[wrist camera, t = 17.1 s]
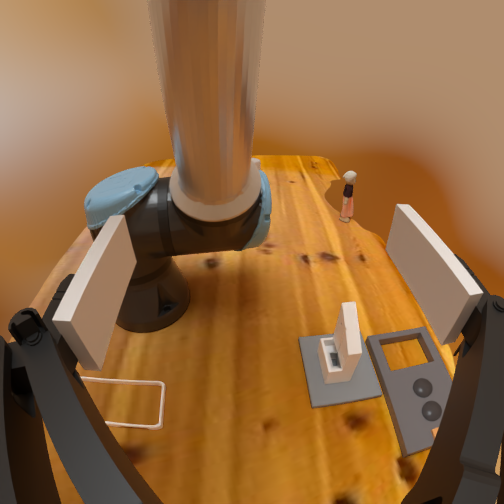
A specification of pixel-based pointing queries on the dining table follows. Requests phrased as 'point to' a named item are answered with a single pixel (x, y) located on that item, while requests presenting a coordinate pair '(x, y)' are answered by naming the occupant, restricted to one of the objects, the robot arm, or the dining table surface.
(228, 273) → the dining table surface
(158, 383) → the phone case
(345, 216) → the grandmother figurine
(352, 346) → the white wedge bracket
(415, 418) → the grey control panel
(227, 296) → the dining table surface
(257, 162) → the usb wall charger
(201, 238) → the robot arm
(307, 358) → the rubber mat
